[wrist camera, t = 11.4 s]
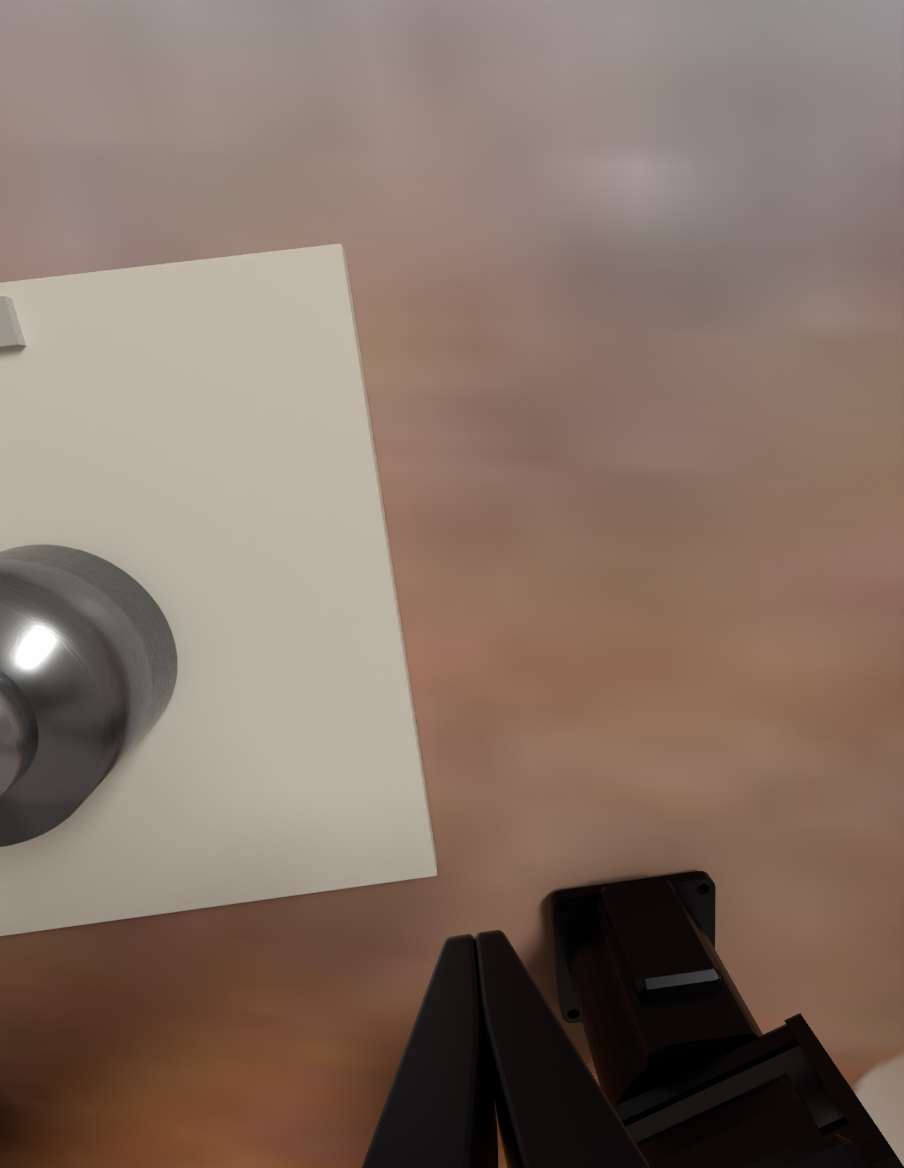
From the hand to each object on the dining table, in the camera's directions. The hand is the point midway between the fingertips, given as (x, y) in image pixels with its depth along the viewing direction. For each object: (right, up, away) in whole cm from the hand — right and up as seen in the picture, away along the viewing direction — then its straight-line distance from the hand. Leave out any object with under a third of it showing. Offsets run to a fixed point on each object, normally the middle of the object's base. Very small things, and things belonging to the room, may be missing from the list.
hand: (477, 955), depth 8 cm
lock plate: (-13, +4, +11) cm, 17 cm away
